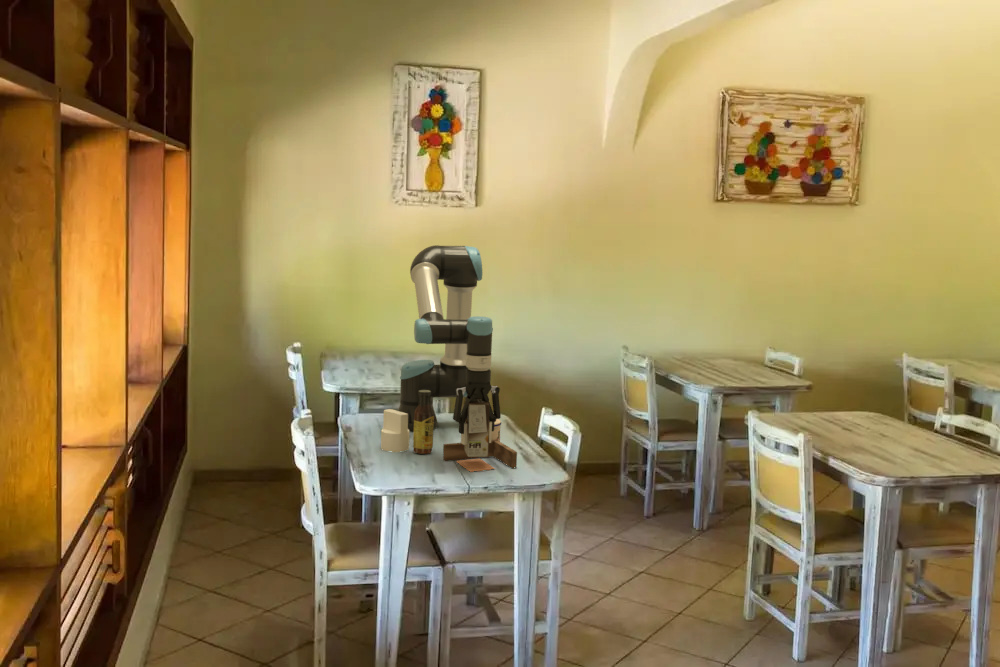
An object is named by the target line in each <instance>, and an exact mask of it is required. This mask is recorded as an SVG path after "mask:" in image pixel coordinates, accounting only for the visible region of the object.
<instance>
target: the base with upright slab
mask: <svg viewBox="0 0 1000 667" xmlns="http://www.w3.org/2000/svg"><path fill="white" fill-rule="evenodd" d="M382 423H383V425H382V426H383V427H382V429H381V432H380V435H381V436H380V445H381V446H380V449H381V450H382V449H383V450H385V451H384V452H387V451H392V452H391V453H401V452H400V451H403V452H406V451H405V450H407V451H408V450H410V431H409V429H408V414H407V413H403V412H400V411H398V410H395V409H392V408H388V409H384V410H383V422H382ZM383 450H382V451H383Z"/></svg>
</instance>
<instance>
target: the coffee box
mask: <svg viewBox="0 0 1000 667" xmlns="http://www.w3.org/2000/svg"><path fill="white" fill-rule="evenodd" d="M490 405H491V403H490V404H489V403H488V402H485V401H483V400H481V399H477V400H474V402H473V403H468V416H467V418H466V421H465V423H467V445H464V450H465V452H466V454H467V456H468V457H483V458H488V457H487V456H488V436H489V407H490Z"/></svg>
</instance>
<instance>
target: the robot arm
mask: <svg viewBox="0 0 1000 667" xmlns="http://www.w3.org/2000/svg"><path fill="white" fill-rule="evenodd" d="M482 263H483V262H482V256H481V252H480V251H479V248H477V247H476V246H469V245H439V244H438V245H430V246H427V247H425V248H424V249H422V250H421V251H420V252H418V254H417V255H416V256H415V257H414V258H413V259H412V262H411V264H410V269H409V270H410V271H409V274H410V278H411V281H412V283H414V288H415V294H416V302H417V303H416V304H417V305H416V306H417V312H418V319H415V321H414V325H413V326H414V327H413V328H414V329H413V335H414V341H415V343H417V344H423V345H424V344H425V345H437V344H438V345H442V344H443V345H444V354H443V356H442V357H441V358H440V362H439V364H435V362H434V360H431V359H419V360H412V361H408V362H406V363H404V364H403V365H401V368H400V376H399V379H400V390H399V391H400V393H399V394H400V395H399V406H398V409H397V411H400V412H403V413H407V414H408V429H409V432H414V417H415V410H416V408H417V407H418V405H419V404H418V402H419V395H418V391H419V390H429V391H431V397H430V403H431V404H430V405H431V408H432V412H433V415H434V424H433V430H435V429H436V428H437V427H438V418H437V414H436V410H435V408H434V398H455V403H454V409H453V416H452V420H453V421H454V422H456V423H458V432H459V434H460V435H461V436H460V443H462V444H463V445H467V423H465V421H466V418H467V416H468V403H473V402H474V400H477V399H481V400H483V401H485V402H488V403H489V404H490V407H489V436H488V443H491V435H492V431H494V422H496V419H499V420H501V406H500V396H499V394H500V390H501V388H500V387H499V386H497V385H494V386H493V385H492V384H491V382H492V381H491V380H492V379H491V378H492V377H491V376H492V370H491V369H490V368H492V346H493V344H492V343H493V332H494V331H493V330H494V327H493V319H492V318H491V317H488V316H477V315H476V316H472V304H473V303H472V302H473V301H472V300H473V290H474V289H476V287H477V286H478V282H480V281H482V280H483V264H482ZM438 280H440V281H441V280H442V281H443V286H444V287H445V288H446V289H447V293H446V294H447V298H446V316H445V317H446V319H445V318H444V313H443V306H442V301H441V300H442V299H441V294H440V288H439V283H438ZM489 393H491V400H492V406H491V402H490V398H489ZM464 398H465V402H464V404H463V401H464Z"/></svg>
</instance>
